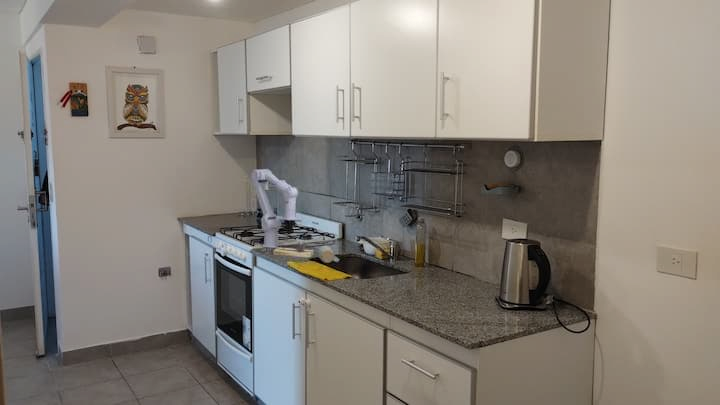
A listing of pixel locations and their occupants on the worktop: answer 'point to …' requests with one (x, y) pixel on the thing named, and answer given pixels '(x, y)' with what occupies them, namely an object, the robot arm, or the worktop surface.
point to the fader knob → (301, 246)
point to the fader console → (292, 252)
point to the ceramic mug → (327, 254)
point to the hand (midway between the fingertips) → (289, 234)
